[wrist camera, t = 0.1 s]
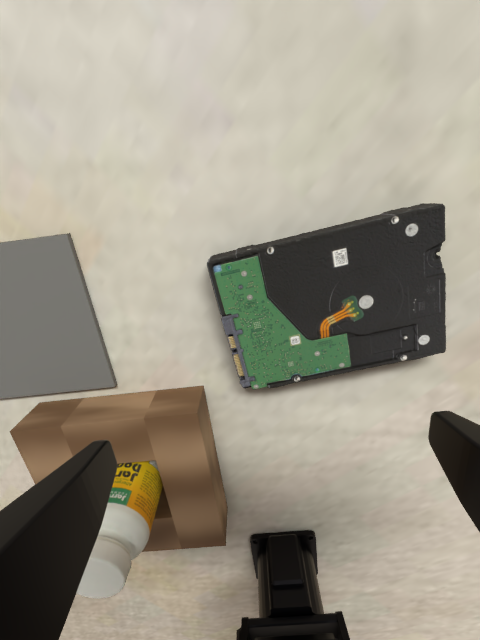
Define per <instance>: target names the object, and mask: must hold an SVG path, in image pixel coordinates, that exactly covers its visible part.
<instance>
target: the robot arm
mask: <svg viewBox="0 0 480 640" xmlns="http://www.w3.org/2000/svg"><path fill="white" fill-rule="evenodd" d="M429 442H430V445H431V447H432V449H433V451H434V453H435V455H436V457H437V459H438V461H439V463H440V465H441V466H442V468H443V470H444V472H445V474H446V476H447V478H448V480H449V482H450V484H451V486H452V487H453V489H454V491H455V493H456V495H457V497H458V499H459V500H460V502H461V504H462V505H463V507H464V509H465V510H466V512H467V513H468V515H469V516H470V518H471V519H472V521H473V523H474V524H475V526H476V527H477V529H478V530H479V532H480V425H478V424H476V423H474V422H472V421H470V420H468V419H465V418H463V417H461V416H459V415H457V414H455V413H453V412H450V411H440V412H434V413H432V415H431V420H430V428H429ZM116 471H117V460H116V457H115V454H114V451H113V448H112V445H111V443H110V441H109V440H97V441H93V442H92V443H90V444H89V445H88V446H86V447H85V448H84V449H82V450H81V451H80V452H78V453H77V454H76V455H74V456H73V457H72V458H70V459H69V460H68V461H66V462H65V463H64V464H62V465H61V466H60V467H58V468H57V469H56V470H54V471H53V472H52V473H50V474H49V475H48V476H46V477H45V478H44V479H42V480H41V481H40V482H38V483H37V484H36V485H34V486H33V487H32V488H30V489H29V490H28V491H26V492H25V493H24V494H22V495H21V496H20V497H18V498H17V499H16V500H14V501H13V502H12V503H10V504H9V505H8V506H6V507H5V508H4V509H2V510H1V511H0V640H59V637H60V635H61V632H62V629H63V627H64V624H65V621H66V619H67V616H68V613H69V611H70V608H71V605H72V603H73V600H74V598H75V595H76V592H77V590H78V587H79V584H80V582H81V579H82V576H83V574H84V571H85V568H86V566H87V563H88V560H89V558H90V555H91V552H92V550H93V547H94V545H95V542H96V539H97V537H98V534H99V531H100V528H101V525H102V522H103V519H104V515H105V511H106V508H107V504H108V500H109V497H110V493H111V489H112V486H113V482H114V478H115V475H116ZM250 543H251V549H252V555H253V560H254V566H255V572H256V578H257V579H258V590H259V617H260V618H250V619H248V617H244V618H242V625H241V628H240V629H238V630H237V640H350V638H349V635H348V631H347V628H346V624H345V621H344V617H343V614H342V611H338V612H335V613H329V614H324V611H323V606H322V601H321V596H320V591H319V586H318V580H317V574H318V569H317V553H316V537H315V533H314V532H313V531H297V532H284V533H271V534H258V535H252V536H251V537H250Z"/></svg>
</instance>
